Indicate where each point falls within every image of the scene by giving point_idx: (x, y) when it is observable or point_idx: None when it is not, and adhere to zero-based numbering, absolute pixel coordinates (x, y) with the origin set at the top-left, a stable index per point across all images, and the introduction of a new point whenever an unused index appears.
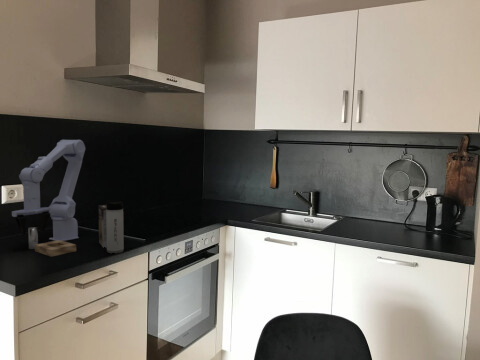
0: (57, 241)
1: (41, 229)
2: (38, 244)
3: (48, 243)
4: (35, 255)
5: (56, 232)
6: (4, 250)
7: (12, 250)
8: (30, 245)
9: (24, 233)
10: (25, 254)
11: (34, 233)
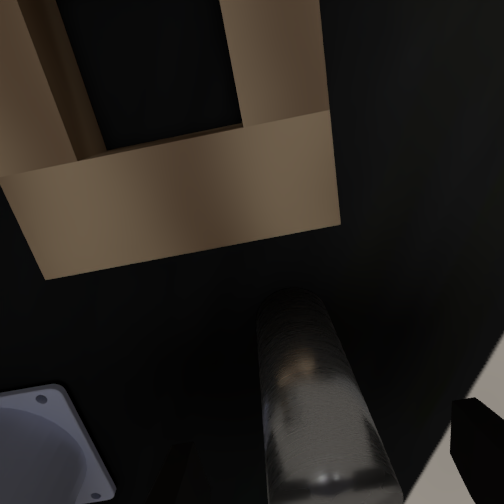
0: (76, 224)
1: (200, 488)
2: (302, 213)
3: (192, 190)
4: (387, 12)
5: (32, 498)
6: (480, 374)
7: (442, 342)
8: (330, 320)
9: (467, 407)
10: (437, 136)
11: (322, 398)
